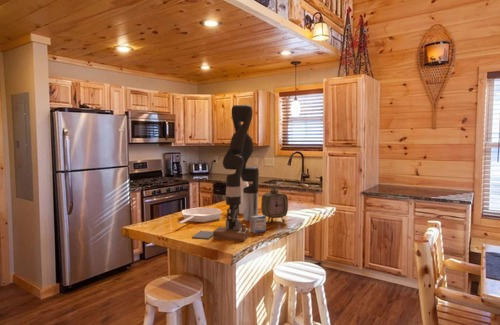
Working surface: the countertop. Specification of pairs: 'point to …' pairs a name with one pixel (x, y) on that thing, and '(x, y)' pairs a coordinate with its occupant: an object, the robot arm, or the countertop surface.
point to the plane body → (231, 234)
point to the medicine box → (257, 223)
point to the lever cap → (234, 225)
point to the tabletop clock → (274, 204)
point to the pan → (201, 214)
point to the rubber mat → (203, 235)
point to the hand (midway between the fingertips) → (233, 226)
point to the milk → (242, 186)
